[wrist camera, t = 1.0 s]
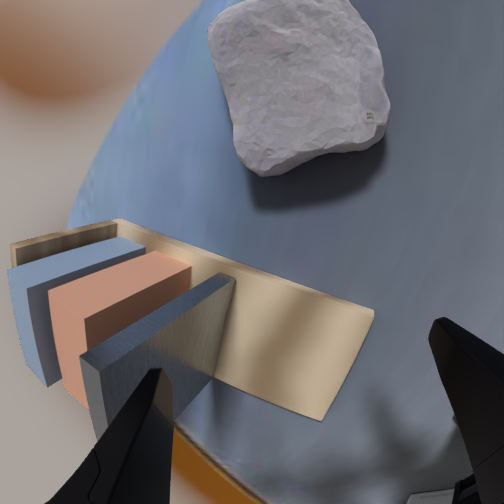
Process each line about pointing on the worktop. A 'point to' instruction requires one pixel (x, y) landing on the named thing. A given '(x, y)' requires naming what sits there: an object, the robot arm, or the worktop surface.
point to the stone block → (298, 81)
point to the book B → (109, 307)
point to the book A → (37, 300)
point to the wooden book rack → (250, 319)
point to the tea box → (432, 497)
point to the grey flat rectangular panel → (160, 351)
